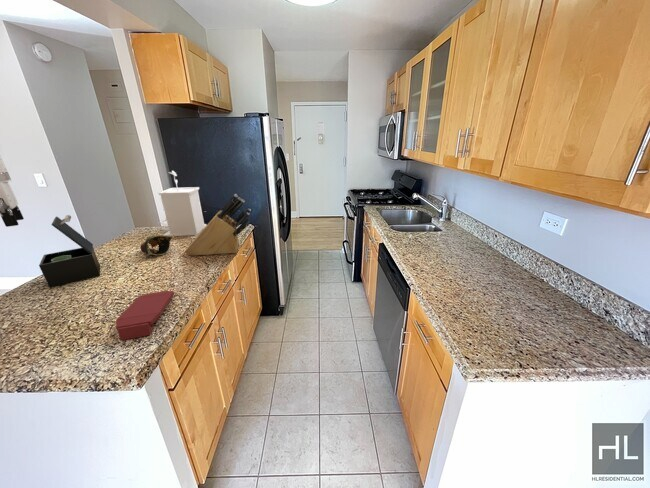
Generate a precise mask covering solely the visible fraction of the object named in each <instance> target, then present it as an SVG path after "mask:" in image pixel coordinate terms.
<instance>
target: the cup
mask: <svg viewBox="0 0 650 488" xmlns="http://www.w3.org/2000/svg"><path fill="white" fill-rule="evenodd" d="M70 258H72V257H71V256H70V255H64V256H59V257H56V258H54V259H52V260H51V262H56V261H61V260H66V259H70Z"/></svg>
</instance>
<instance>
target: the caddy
mask: <svg viewBox="0 0 650 488" xmlns="http://www.w3.org/2000/svg"><path fill="white" fill-rule="evenodd" d="M64 255H70V256H71V257H72V258H70V259H66V260H61V261H56V262H51V260H52V259H54V258H56V257H59V256H64ZM38 267H39V269H40V271H41V273H42V275H43V277H44V280H45V281H46V283H47V286H48V288H49V289H53V288H56V287H62V286H65V285H70V284H74V283H77V282H81V281H86V280H89V279H90V280H91V279H93V278H98V277H101V265H100V262H99V260H98V257H97V254H96V251H95V248H93V253H92V254H90V253H88V252H87V251H86V250H84V249H83V248H82V247H77V248H72V249H67V250H61V251H57V252H52V253H47V254H46V253H45V254H43V256H42V258H41V260H40V262H39V264H38Z"/></svg>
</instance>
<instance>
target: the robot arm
mask: <svg viewBox="0 0 650 488" xmlns="http://www.w3.org/2000/svg"><path fill="white" fill-rule="evenodd" d="M9 182H12V179H11V176H10V174H9V172H8V170H7V167H6V165H5V163H4V161H3V158H2V156H1V155H0V217H1V219H2V222H3V224H4V225H5V227H6V228H7V227H8V228H9V227H16V226H19V221H22V220H24V219H25V218H24V216H23V214H22V211H21V210H20V207H19V206H18V204H19V203H18V200H17V197H16V195H15V193H14V191H13V189H12V187H11V184H10V183H9Z"/></svg>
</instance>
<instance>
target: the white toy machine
mask: <svg viewBox="0 0 650 488" xmlns="http://www.w3.org/2000/svg"><path fill="white" fill-rule="evenodd" d="M167 173H168V174H171V176H172V175H173V180H174V183H175V186H176V187H170V188H167V189H165V190H162V191H159V192H158V196H160V199H161V203H162V206H163V207H162V208H163V211H164V215H165V218H164V219H162V220H160V221H159V222H158V224H160V225H164V226H167V227H168V230H167V231H166V232H165V233H163V234H162V236H171V235H174V236H173V237H183V236H185V237H186V236H198V235H199V234H200V233H201V231H202V230H203V229H204V228H205V227H206V226H207V223H205V219H204V216H203V210H202V206H201V205H202V204H201V200H200V194H199V190H200V186H194V187H193V186H190V187H185V186H184V187H178V179H176V177H178V174H177V172H175V170H171V171H168V172H167ZM164 222H167V223H166V224H165V223H164Z"/></svg>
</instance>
